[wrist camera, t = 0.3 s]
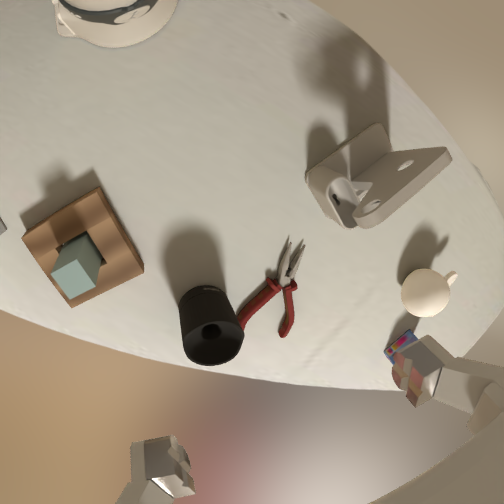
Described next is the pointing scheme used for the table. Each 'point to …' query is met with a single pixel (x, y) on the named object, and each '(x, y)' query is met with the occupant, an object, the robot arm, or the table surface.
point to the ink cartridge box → (400, 345)
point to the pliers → (273, 288)
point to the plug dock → (102, 233)
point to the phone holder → (371, 178)
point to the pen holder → (209, 326)
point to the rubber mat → (2, 227)
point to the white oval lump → (426, 292)
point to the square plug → (77, 265)
